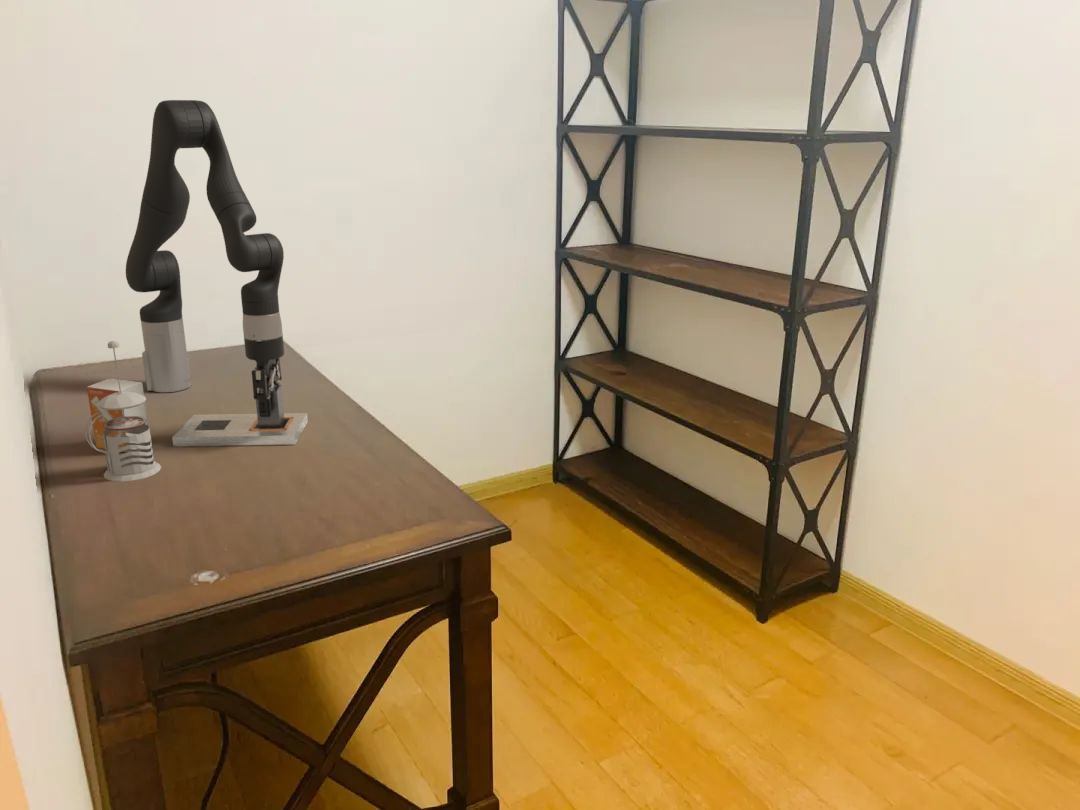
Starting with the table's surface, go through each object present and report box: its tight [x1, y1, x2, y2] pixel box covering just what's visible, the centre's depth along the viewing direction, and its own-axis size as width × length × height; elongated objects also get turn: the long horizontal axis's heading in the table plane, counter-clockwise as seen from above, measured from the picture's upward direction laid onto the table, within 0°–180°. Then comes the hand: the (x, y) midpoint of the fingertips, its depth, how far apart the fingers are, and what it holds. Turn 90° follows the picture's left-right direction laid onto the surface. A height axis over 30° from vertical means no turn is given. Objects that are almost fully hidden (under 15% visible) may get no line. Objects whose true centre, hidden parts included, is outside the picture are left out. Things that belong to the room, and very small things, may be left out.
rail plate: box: [172, 412, 309, 448], centre depth 175 cm, size 24×14×2 cm, turn 95°
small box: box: [86, 378, 149, 453], centre depth 166 cm, size 8×6×13 cm
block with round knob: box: [255, 383, 285, 429], centre depth 174 cm, size 4×4×11 cm
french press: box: [84, 340, 162, 482], centre depth 151 cm, size 10×12×25 cm
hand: (270, 409), depth 174 cm, fingers open, 8 cm apart
